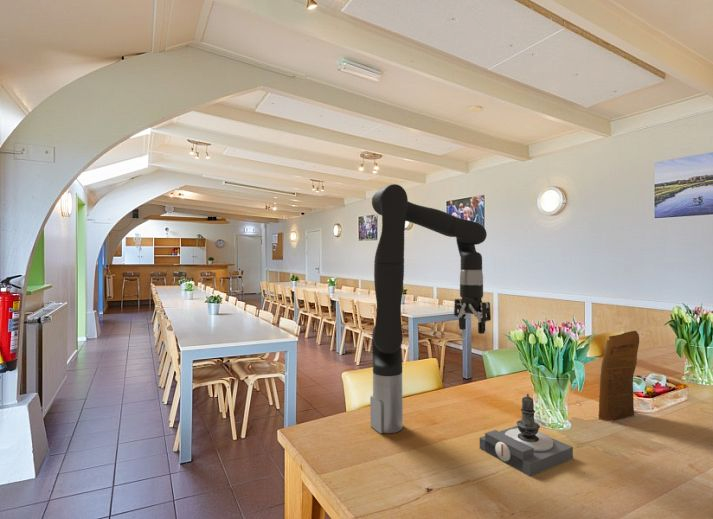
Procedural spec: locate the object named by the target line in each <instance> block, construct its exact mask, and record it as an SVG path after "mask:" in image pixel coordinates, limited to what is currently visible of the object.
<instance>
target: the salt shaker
mask: <svg viewBox="0 0 713 519" xmlns="http://www.w3.org/2000/svg"><path fill="white" fill-rule="evenodd" d="M534 406H535V404H534V398H532V397H530V395H529V393H527V394H526V396H523V397H522V399H521V409H520V411H521V419H520V420H518V421H516V426H518V429H519V431H520V432H521V433H520V434H518V438H519V439H521V440H523V441H526V442H537V441H539V438H538V437H537V436H536V434H537V433H538V431H539V429H541V426H540V424H539V423H538V422H536V421H535V413H536V410H535V407H534Z"/></svg>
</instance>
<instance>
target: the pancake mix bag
mask: <svg viewBox="0 0 713 519" xmlns="http://www.w3.org/2000/svg"><path fill="white" fill-rule="evenodd" d="M639 345H640V334H639V333H638V331H637V330H632V331H626V332H623V333H620V334H614V335H611V336H608V339H606V344H605V348H604V352H603V356H602V360H601V365H600V366H601V367H600V376H599V397H598V419H599V420H603V421H617V420H620V419H621V420H622V419H625V418H630V417H634V416H635V407H634V405H635V403H634V375H635V371H636V368H637V363H638V361H637V360H638V352H639Z"/></svg>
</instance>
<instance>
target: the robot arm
mask: <svg viewBox="0 0 713 519" xmlns="http://www.w3.org/2000/svg"><path fill="white" fill-rule="evenodd" d="M371 205H372V206H371V207H372V208H373V210H374V211H375V213H377V214H378V215H379V216H381V232H380V238H379V241H378V243H377V247H376V250H375V253H374V254H375V255H374V261H373V262H374V265H373V270H374V271H373V273H374V274H373V279H374V292H375V300H376V314H375V315H376V316H375V324H374V327H373V328H372V333H371V334H372V336H371V337H372V339H371V340H372V344H371V345H372V395H370V396H369V397H370V407H369V409H370V427H371V428H373V430H375V431H377V433H379V434H394V433H398V432H400V431H401V430H403V425H404V424H403V422H404V421H403V420H404V418H403V416H404V414H403V413H404V412H403V411H404V409H403V401H404V400H403V360H402V344H403V340H404V335H403V324H402V299H403V289H404V281H405V280H404V279H405V278H404V277H405V229H406V228H405V226H406V222H409V223H412V224H413V225H414V224H415V225H417V226H420V227H423V228H426V229H428V230H430V231H432V232H435V233H437V234H441V235H442V236H445V237H449V238H455V240H456V245H457V250H458V253H459V256H460V272H459V296H460V298H455V299H454V304H453V306H454V310H453V312H454V313H453V315H454V317H457V318H458V327H459V328H458V329H459V330H462V331H463V330H466V317H467V315H468V314H471V315H473V316H474V317H475V318H476V319H477V321H478V322H477V333H478V334H480V335H483V334H485V333H486V322H489V321H491V320H492V319H491V318H492V317H491V316H492V315H491V303H490V302H489V301H484V302H483V300H482V299H483V298H484V274H483V256H482V254H481V253H480V252H479V251H478V252H477V249H476V246H475V245H480V244H482V243H484V242H485V241H486V239H487V230H486V228H485V227H484V225H482V224H480V222H476V221H472V220H468V219H466V218H461V217H457V216H455V215H453V214H450V213H448V212H445V211H443V210H440V209H437V208H433V207H428V206H424V205H419V204H416V203H413V202H410V201H409V200H408V194H407V192H406V190H405V189H404V188H403V187H402V186H401V185H400V184H397V183H393V184H388V185H386V186H384V187H382V188H380V189H378V190H377V191H375V193H374V194H373V195H372V197H371Z"/></svg>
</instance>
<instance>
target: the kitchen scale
mask: <svg viewBox="0 0 713 519" xmlns="http://www.w3.org/2000/svg"><path fill="white" fill-rule="evenodd" d="M520 433H521V432H520V431H519V429H518V425H516V426H512V427H509V428H506V429H503V430H496V429H494V430H491V431H487V432H485V433H484V435H483V436H480V437H479V450H482V451H483V452H485V453H487V454H489V455H490V456H493V457H495V458H496V459H498V460H499V461H502V462H503V463H506V464H507V465H509V466H511V467H513V468H514V469H516V470H518V471H520V473H521V472H522V473H523V474H525V475H527V476H528V477H531V476H535V475H537V474H539V473H541V472H544V471H547V470H548V469H549V470H550V469H551V468H553V467H556V466H559V465H561V464H563V463H565V462H568V461H570V460H573V458H574V453H573V452H574V447H573V446H571V445H569V444H566V443H564V442H562V441H559V440H557V439H555V438H552V437H551V436H550V435H547V434H546V433H543V432H541V431H539V430H538V433H537V434H536V436H537V437H538V438H539V441H537V442H526V441H523V440H521V439H519V438H518V434H520Z"/></svg>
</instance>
